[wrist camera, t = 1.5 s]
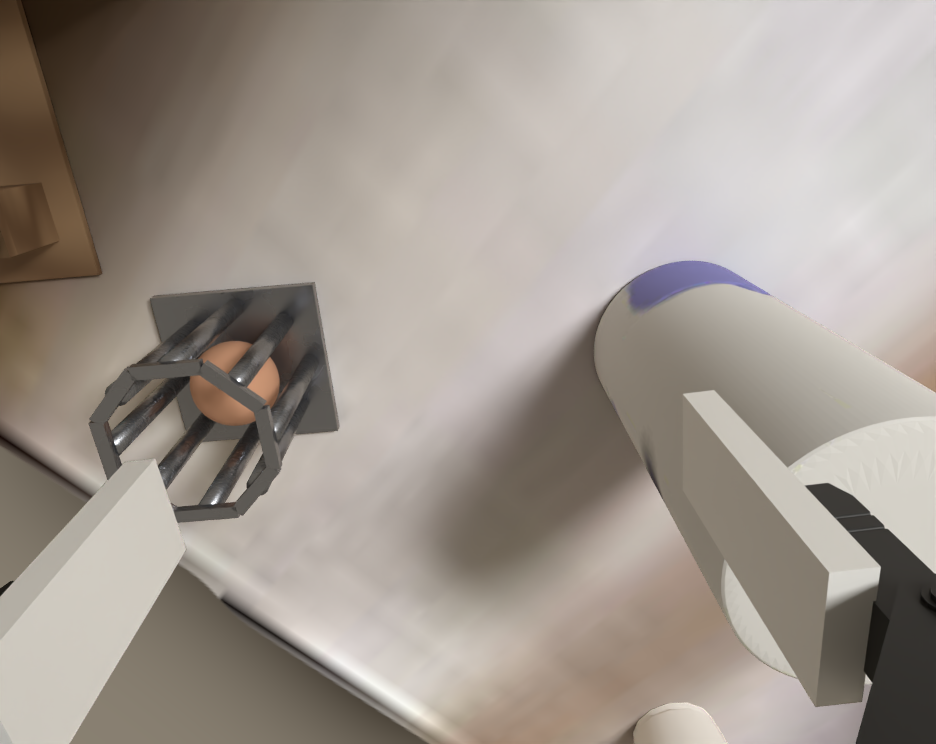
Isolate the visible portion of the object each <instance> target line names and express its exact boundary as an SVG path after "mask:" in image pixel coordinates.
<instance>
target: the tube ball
mask: <svg viewBox="0 0 936 744" xmlns="http://www.w3.org/2000/svg"><path fill="white" fill-rule="evenodd" d="M252 345H253V344H250V343H247V342H243V341H228V342H223V343H220V344H217V345H215V346H213V347H211V348H209V349H208V350H206V351H205V352H204V353H203V354H202V355H201V356H200V357H199V358H198V359H203V363H205V362H206V361H207V360H208V361H210V362H211V363H213V364H214V365H216V366H217V367H218V368H220V369H221V370H223V371H224V372H226V373H227V374H228V373H229V372H230V371H231V370H232V368H233V367H234V366H235V365H236V364H237V362H238V361H239V360H240V359H241V358H242V356H243V355H244V354H245V353H246V352H247V350H248V349H249V348H250V347H251V346H252ZM279 387H280V379H279V374H278V370H277V367H276V365H275V363H274V362H273V360H272V359H271V357H269V358H268V360H267V361H266V362H265V364H264V365H263V366H262V368H261V369H260V370H259V372H258V373H257V375H256V376H255V377H254V379H253V380H252V381H251V383H250V384H249V386H248V387H247V388H249V389H250V390H252V391H253V392H255V393H256V394H257V395H259V396H260V397H262V398H263V399H265V400H266V403H265V405H270V409H271V407H272V406H273V405H274V403H275V401H276V399H277V396H278V393H279ZM190 391H191V395H192V398H193V401H194V403H195V404H196V406H197V407H198V409H199V410H200V411H201V412H202V413H203V414H204V415H205V416H207V417H208V418H209V419H211V420H213V421H215V422H217V423H220V424H224V425H230V426H239V425H245V424H249V423H252V422H254V421H256V420H255V415H254V412H252V411H251V410H249V409H248V408H246V407H245V406H243V405H242V404H241V403H239V402H238V401H236V400H235V399H233V398H232V397H230V396H229V395H227V394H226V393H224V392H223V391H221V390H220V389H219V388H217V387H216V386H214V385H213V384H211V383H210V382H208V381H207V380H205V379H204V378H202V377H201V376H199V375H197V376H190Z"/></svg>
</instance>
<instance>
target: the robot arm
mask: <svg viewBox="0 0 936 744" xmlns="http://www.w3.org/2000/svg"><path fill="white" fill-rule="evenodd" d="M683 492H684V493H685V495H686V496H687V498H688V500H689V501H690V503H691V505H692V506H693V508H694V509H695V511H696V513H697V514H698V516H699V518H700V519H701V521H702V523H703V524H704V526H705V527H706V529H707V531H708V532H709V534H710V536H711V537H712V539H713V541H714V542H715V544H716V545H717V547H718V549H719V550H720V552H721V554H722V555H723V557H724V559H725V560H726V562H727V563H728V565H729V567H730V568H731V570H732V572H733V573H734V575H735V576H736V578H737V580H738V581H739V583H740V585H741V586H742V588H743V590H744V591H745V593H746V594H747V596H748V598H749V599H750V601H751V603H752V604H753V606H754V608H755V609H756V611H757V612H758V614H759V616H760V617H761V619H762V621H763V622H764V624H765V626H766V627H767V629H768V630H769V632H770V634H771V635H772V637H773V639H774V640H775V642H776V643H777V645H778V647H779V648H780V650H781V652H782V653H783V655H784V657H785V658H786V660H787V661H788V663H789V665H790V666H791V668H792V670H793V671H794V673H795V675H796V676H797V678H798V679H799V681H800V683H801V684H802V686H803V688H804V689H805V691H806V693H807V694H808V696H809V697H810V699H811V701H812V702H813V704H814V706H815V707H820V706H829V705H838V704H847V703H856V702H862V698H863V691H864V684H865V676H866V675H867V676H868V678H869V679H870V681H871V682H872V686H871V690H870V694H869V697H868V701H867V705H866V708H865V712H864V715H863V719H862V723H861V726H860V730H859V733H858V737H857V741H856V744H936V574H935V573H934V572H933V571H932V570H931V569H930V568H928V567H927V566H926V565H925V564H924V563H923V562H922V561H921V560H920V559H919V558H918V557H917V556H916V555H915V554H914V553H913V552H912V551H911V550H910V549H909V548H908V547H907V546H905V545H904V544H903V543H902V542H901V541H900V540H899V539H898V538H897V537H896V536H895V535H894V534H893V533H892V532H891V531H890V530H889V529H885V527H884V525H883V524H882V523H881V522H880V521H879V520H878V519H877V518H876V517H875V516H874V515H871V514H870V511H869V510H868V509H867V508H866V507H865V506H864V505H863V504H862V503H860V502H859V501H858V500H857V499H856V498H855V497H854V496H853V495H851V494H849V493H847V492H845V491H843V490H841V489H839V488H837V487H836V486H834V485H832V484H830V483H821V484H813V485H805V486H804V485H803V484H802V483H801V482H800V481H799V479H798V478H797V477H796V476H795V475H794V474H793V473H792V472H791V471H790V470H789V469H788V468H787V467H786V466H785V465H784V464H783V463H782V461H781V460H780V459H779V458H778V457H777V456H776V455H775V454H774V453H773V452H772V451H771V450H770V449H769V448H768V447H767V446H766V445H765V443H764V442H763V441H762V440H761V439H760V438H759V437H758V436H757V435H756V434H755V433H754V432H753V431H752V430H751V429H750V428H749V427H748V425H747V424H746V423H745V422H744V421H743V420H742V419H741V418H740V417H739V416H738V415H737V414H736V413H735V412H734V411H733V410H732V408H731V407H730V406H729V405H728V404H727V403H726V402H725V401H724V400H723V399H722V398H721V397H720V396H719V395H718V394H717V393H716V392H715V390H710V391H702V392H694V393H686V394H683ZM185 551H186V546H185V544H184V541H183V538H182V535H181V532H180V529H179V526H178V523H177V520H176V518H175V515H174V512H173V509H172V506H171V503H170V500H169V497H168V494H167V492H166V489H165V486H164V483H163V480H162V477H161V474H160V471H159V468H158V465H157V463H156V460H155V458H154V459H146V460H138V461H129V462H124V463H123V465H122V466H121V467H120V468H119V469H118V470H117V471H116V472H115V473H114V474H113V475H112V476H111V478H110V479H109V480H108V481H107V482H106V483H105V484H104V485H103V486H102V487H101V488H100V489H99V490H98V492H97V493H96V494H95V495H94V496H93V497H92V498H91V499H90V500H89V501H88V502H87V503H86V505H85V506H84V507H83V508H82V509H81V510H80V511H79V512H78V513H77V514H76V515H75V516H74V518H73V519H72V520H71V521H70V522H69V523H68V524H67V525H66V526H65V527H64V528H63V529H62V530H61V532H60V533H59V534H58V535H57V536H56V537H55V538H54V539H53V540H52V541H51V542H50V543H49V544H48V546H47V547H46V548H45V549H44V550H43V551H42V552H41V553H40V554H39V555H38V556H37V558H35V560H34V561H33V562H32V563H31V564H30V565H29V566H28V567H27V568H26V569H25V570H24V571H23V573H22V574H21V575H20V576H19V577H18V578H17V579H16V580H15V581H10V582H9V583H7V584H6V585H4V586H3V587H2V588H0V744H69V743H70V742H71V740H72V738H73V737H74V735H75V733H76V732H77V730H78V728H79V727H80V725H81V724H82V722H83V720H84V718H85V717H86V715H87V714H88V712H89V710H90V709H91V707H92V705H93V704H94V702H95V700H96V699H97V697H98V695H99V694H100V692H101V690H102V689H103V687H104V685H105V684H106V682H107V680H108V678H109V677H110V675H111V674H112V672H113V670H114V669H115V667H116V665H117V664H118V662H119V660H120V659H121V657H122V655H123V654H124V652H125V650H126V649H127V647H128V645H129V644H130V642H131V640H132V639H133V637H134V635H135V634H136V632H137V630H138V629H139V627H140V625H141V624H142V622H143V620H144V619H145V617H146V616H147V614H148V612H149V611H150V609H151V607H152V605H153V604H154V602H155V601H156V599H157V597H158V596H159V594H160V592H161V590H162V589H163V587H164V585H165V584H166V582H167V581H168V579H169V577H170V576H171V574H172V572H173V571H174V569H175V567H176V566H177V564H178V562H179V561H180V559H181V557H182V556H183V554H184V552H185Z"/></svg>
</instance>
